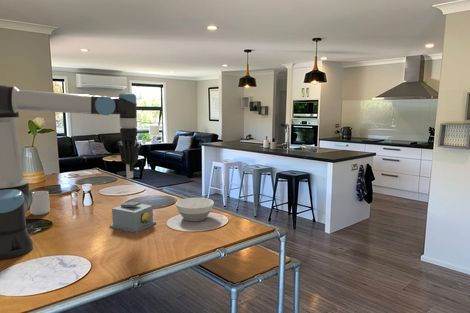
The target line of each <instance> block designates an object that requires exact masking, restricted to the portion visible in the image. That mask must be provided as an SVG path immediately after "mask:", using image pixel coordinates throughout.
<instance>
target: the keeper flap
mask: <svg viewBox="0 0 470 313" xmlns="http://www.w3.org/2000/svg"><path fill="white" fill-rule="evenodd" d="M140 204H142V203H141V201H140V202H139V201H138V202H137V201H127V202H124V203H121V204H120V206H121V207H135V206H138V205H140Z"/></svg>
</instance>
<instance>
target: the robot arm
mask: <svg viewBox="0 0 470 313" xmlns="http://www.w3.org/2000/svg"><path fill="white" fill-rule="evenodd" d="M137 105H138V104H137V96H136V94H134V93H131V92H130V93H125V92H121V93H118V97H110V96H108V95H92V94H91V95H90V94H79V93H68V92H67V93H64V92H54V91H53V92H52V91H39V90H27V89H19V88H17V86H10V85H6V84H1V83H0V260H7V258H8V259H13V258H16V257H21V256H22V255H25V254H28V253H30V251H32V250H33V248H34V242H33V240H32V238H31V235H30V234H29V232H28V230H27V220H26V213H27V211H28V210H29V209H30V206H31V204H32V200H33V196H32V193H31V192H32V191H31V190H30V184H29V181H28V180H26V179H25V178H24V174H23V166H22V159H21V151H20V143H19V137H18V130H17V123H16V122H17V121H18V119H20V114H19V112H20V111H30V112H44V113H45V112H49V113H69V114H84V115H85V114H89V115H100V116H101V115H102V116H109V115H119V127H120V128H119V135H120V136H121V137H120V141H117V142H116V146H117V147H118V150H119V155H120V160H121V163H124V166H125V167H124V168H125V173H126V179H133V178H134V171H135V166H134V165H135V164H136V163H138V162H139V155H140V149H141V147H142V143H141V142H139V141H138V139H137V136H138V128H137V126H138V115H137V114H138V113H137V112H138V111H137V109H138V108H137V107H138V106H137Z"/></svg>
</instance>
